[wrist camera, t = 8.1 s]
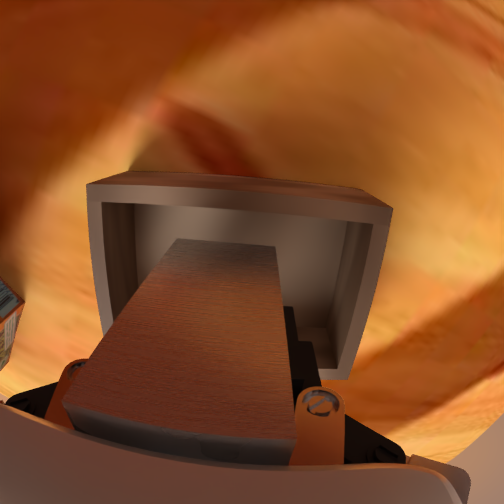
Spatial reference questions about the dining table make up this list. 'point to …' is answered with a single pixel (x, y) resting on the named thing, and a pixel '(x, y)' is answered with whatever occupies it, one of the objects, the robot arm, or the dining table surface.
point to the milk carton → (8, 319)
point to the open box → (248, 232)
